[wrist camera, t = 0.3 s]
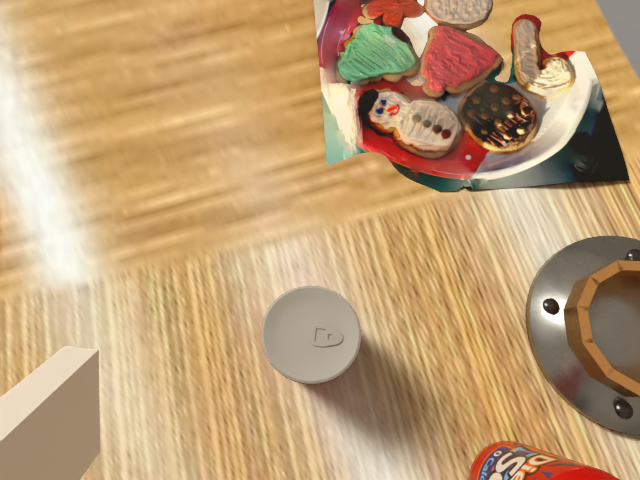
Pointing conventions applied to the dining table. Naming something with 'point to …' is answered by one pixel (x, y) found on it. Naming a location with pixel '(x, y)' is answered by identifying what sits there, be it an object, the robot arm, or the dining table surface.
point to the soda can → (529, 465)
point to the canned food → (311, 335)
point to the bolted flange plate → (591, 328)
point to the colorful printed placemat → (460, 99)
